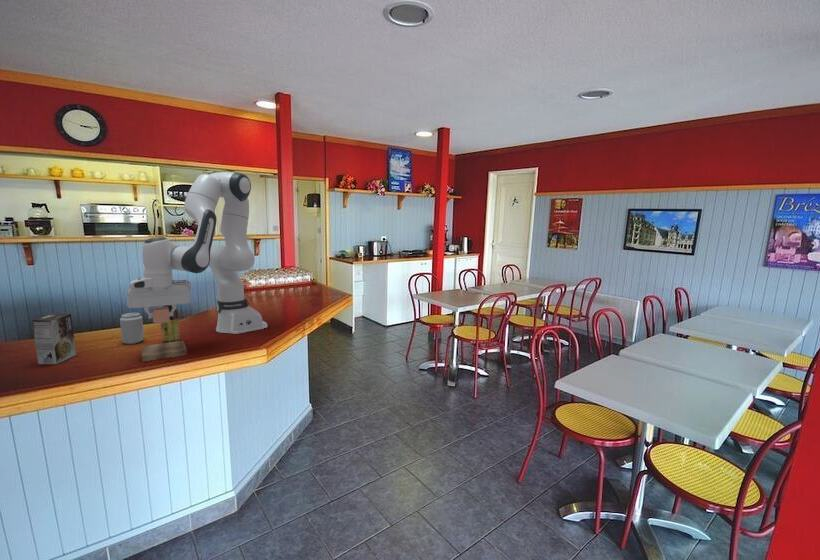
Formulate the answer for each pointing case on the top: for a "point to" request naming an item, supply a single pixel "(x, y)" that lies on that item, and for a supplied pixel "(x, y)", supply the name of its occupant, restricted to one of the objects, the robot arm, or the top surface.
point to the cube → (161, 315)
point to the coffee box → (54, 338)
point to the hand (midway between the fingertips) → (161, 317)
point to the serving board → (163, 351)
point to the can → (131, 328)
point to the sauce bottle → (171, 327)
